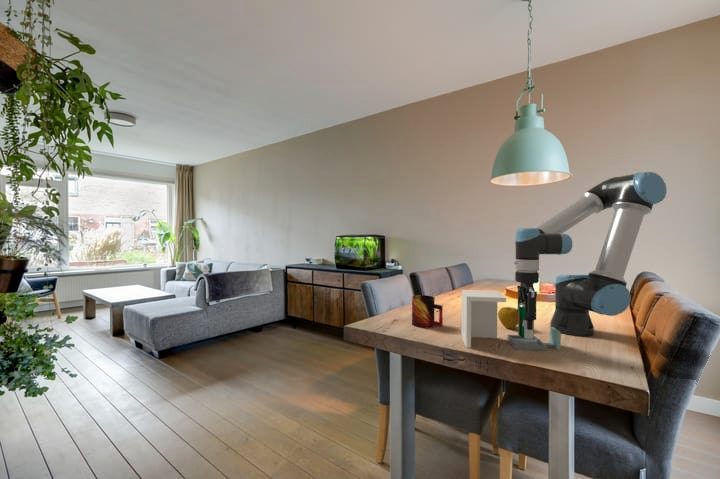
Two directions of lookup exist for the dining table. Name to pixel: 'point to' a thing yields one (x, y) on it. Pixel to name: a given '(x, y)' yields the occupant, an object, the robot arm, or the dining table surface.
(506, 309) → the apple
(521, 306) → the soda can
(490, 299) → the cubby
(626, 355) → the dining table surface
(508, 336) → the sled
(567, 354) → the dining table surface
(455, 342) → the dining table surface
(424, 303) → the mug
